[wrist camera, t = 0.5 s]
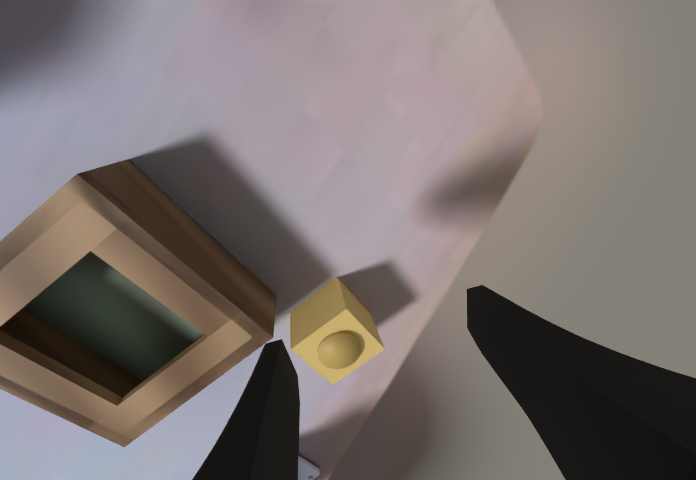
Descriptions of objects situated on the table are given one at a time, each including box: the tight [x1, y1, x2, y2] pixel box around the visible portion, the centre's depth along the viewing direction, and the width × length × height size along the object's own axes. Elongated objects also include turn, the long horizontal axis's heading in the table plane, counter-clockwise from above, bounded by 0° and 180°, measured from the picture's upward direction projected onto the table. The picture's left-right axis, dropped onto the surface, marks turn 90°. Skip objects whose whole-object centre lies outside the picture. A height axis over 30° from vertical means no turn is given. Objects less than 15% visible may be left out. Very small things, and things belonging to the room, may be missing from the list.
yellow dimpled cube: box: [290, 278, 385, 385], centre depth 21 cm, size 4×4×4 cm
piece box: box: [0, 160, 276, 447], centre depth 18 cm, size 12×12×4 cm
